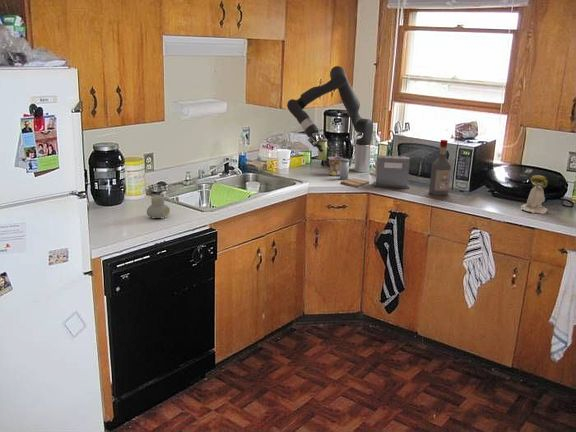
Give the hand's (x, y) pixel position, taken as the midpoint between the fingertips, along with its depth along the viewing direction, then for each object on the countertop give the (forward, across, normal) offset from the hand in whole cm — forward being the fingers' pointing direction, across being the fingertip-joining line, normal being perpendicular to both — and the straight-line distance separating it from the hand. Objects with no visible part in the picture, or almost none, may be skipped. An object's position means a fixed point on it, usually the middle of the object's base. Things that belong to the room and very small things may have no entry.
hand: (324, 150), depth 351 cm
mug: (+10, -16, -16) cm, 25 cm away
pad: (+25, -7, -1) cm, 26 cm away
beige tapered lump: (+94, -26, +68) cm, 119 cm away
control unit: (+38, -18, +12) cm, 44 cm away
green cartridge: (+3, 0, -5) cm, 6 cm away
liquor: (+58, -22, +32) cm, 70 cm away
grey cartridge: (+18, -12, -8) cm, 23 cm away
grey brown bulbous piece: (+2, +112, -23) cm, 115 cm away
